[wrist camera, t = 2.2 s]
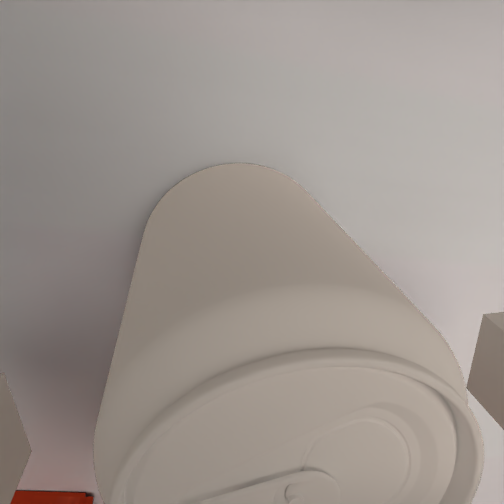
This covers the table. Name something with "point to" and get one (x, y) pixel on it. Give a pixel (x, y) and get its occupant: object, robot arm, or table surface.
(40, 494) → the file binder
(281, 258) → the beverage can
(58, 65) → the table surface
